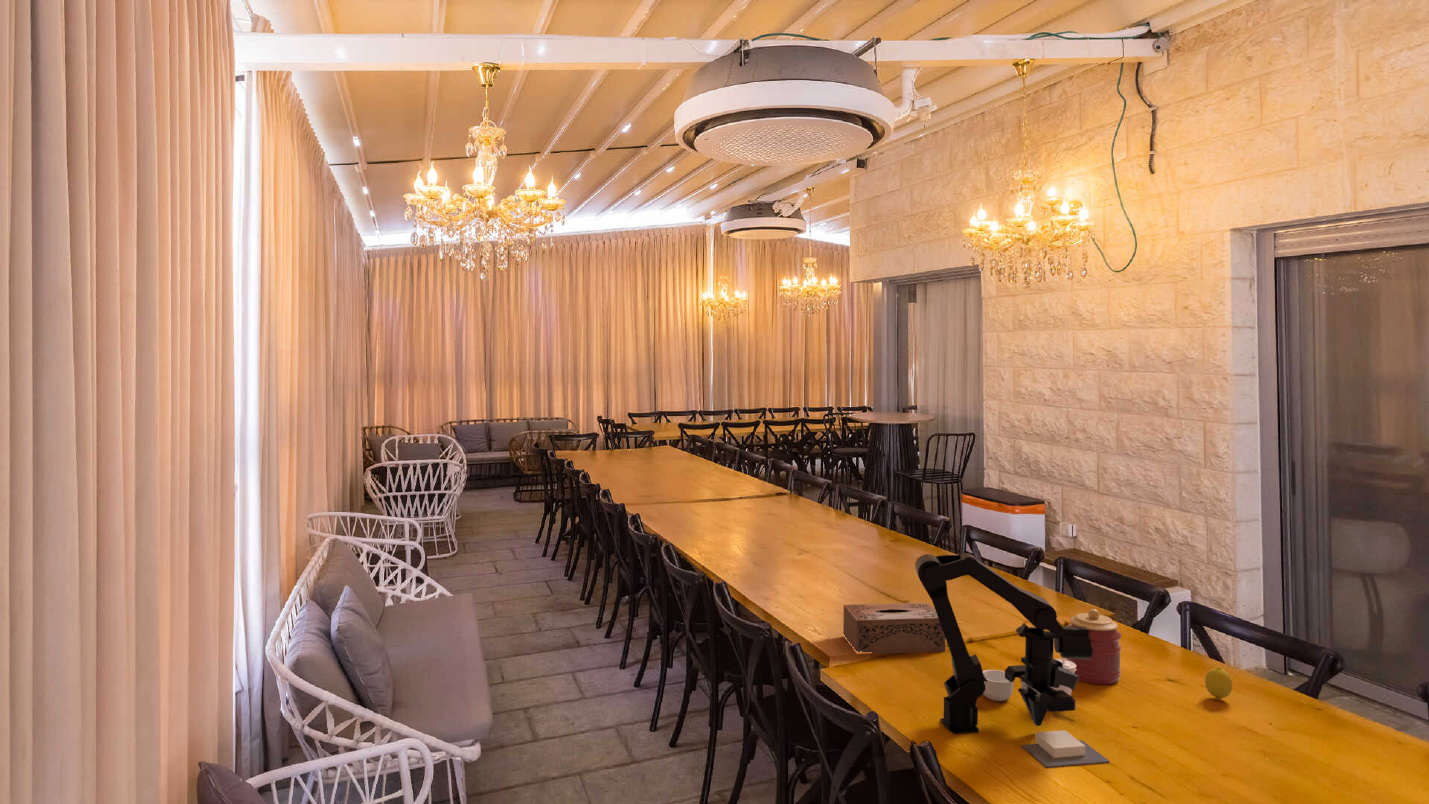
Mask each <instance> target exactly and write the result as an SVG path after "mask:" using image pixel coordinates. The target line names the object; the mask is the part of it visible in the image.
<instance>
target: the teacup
mask: <svg viewBox="0 0 1429 804" xmlns="http://www.w3.org/2000/svg"><path fill="white" fill-rule="evenodd" d="M982 671H983V673H984V675H985V677H986V679H987V682H985V681H984V683H985V691H984V693H983V696H985V697H986V698H987V699H989V700H991V701H995V702H1005V701H1006V700H1009V698H1011V696H1012V694H1013V691H1014V683H1015V680H1014V681H1013V682H1010V681H1008V680H1007V679H1006V678H1005V670H998V669H985V670H982Z"/></svg>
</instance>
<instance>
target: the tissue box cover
mask: <svg viewBox="0 0 1429 804" xmlns="http://www.w3.org/2000/svg"><path fill="white" fill-rule="evenodd" d="M842 625H843V632H842V633H843V634H844V635H845V637H846V638H847V640H848V641H849V642H850V644H852V646H853V647H854V649H855V650H856V651H858V652H860V651H862V652H872V653H874V654H873V655H879V654H880V655H882V654H883V655H884V654H886V655H887V654H911V653H913V654H914V653H917V654H918V653H942V652H943V653H944V652H946V638H945V636H944V633H943V630H942V627H941V624H940V622H939V619H938V616H937V613H936V610H935V608H934V606H932V605H931V604H930V603H928V602H898V603H897V602H895V603H893V602H892V603H862V604H858V603H857V604H843V624H842ZM875 653H876V654H875Z"/></svg>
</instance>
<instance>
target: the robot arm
mask: <svg viewBox="0 0 1429 804" xmlns="http://www.w3.org/2000/svg"><path fill="white" fill-rule="evenodd" d="M914 569H915V572H916V574H917V576H918V579H919V581H920V582H921V585H922V587H923V589H925V591H926V593H927V594H928V596H929V598H930V599H931V601H932V605H933V608H934V609H935V610H936V613H937V616H938V619H939V622H940V624H941V627H942V630H943V633H944V636H945V642H946V643H947V646H948V649H949V652H950V657H951V658H950V659H951V666H952V671H953V672H952V673H953V674H951V676H950V677H949V678H948V679H946V680H945V681H944V682H943V685H944V687H945V690H946V693H947V696H944V697H943V717H942V718H939V720H940V723H942V725H943V726H944V727H946V729H947V730H948V731H949V732H950V733H951V734H962V733H963V734H964V733H966V734H967V733H976V732H977V733H978V732H980V728H979V727H978V722H979V719H978V718H979V716H978V715H979V708H978V706H977V702H978V698H980V697H982V696H984V694H983V693H984V691H985V683H984V681H985V682H987V679H986V677H985V675H984V673H983V671H984V670H983V667H982V663H981V662H980V659H979V657H978V655H977V654H975V653H974V654H973V655H970V653H969V651H968V649H967V645H966V644H965V641H964V638H963V635H962V632H961V629H960V627H959V624H958V620H957V618H956V616H955V612H954V610H953V606H952V604H951V602H950V599H949V594H948V586H947V581H952V580H955V579H958V578H961V577H965V576H969V577H971V578H973V579H974V580H976V581H977V582H978V583H980V584H982V585H983V586H985V587H986V588H988V590H990V591H992V592H993V593H994V594H996V595H998V596H1000V598H1002V599H1003V600H1005V601H1006V602H1008V603H1009V604H1011V605H1012V606H1013V607H1014V608H1015V609H1016V610H1017V611H1018V612H1019V613H1020V614H1021V616H1023V617H1024V618H1025V619H1026V620H1027V621H1028V622H1029V623H1030V624H1031V625H1032V626H1033V627H1032V626H1028V625H1027V624H1026V623H1025V622H1022V624H1021V625H1020V626H1019V627H1017V628H1015V632H1016V633H1017V634H1018V636H1019V637H1020V638H1025V642H1024V643H1025V650H1024V651H1025V653H1024V656H1021V657H1020V662H1021V663H1023V664H1022V665H1021V664H1019V665H1018V664H1017V665H1008V666H1007V667H1006V668H1005V669H1004V672H1005V678H1006V679H1007V680H1008V681H1010V682H1013V681H1014V682H1015V680H1016V679H1015V678H1018V679H1020V680H1019V682H1020V683H1021V686H1020V688H1018V689H1017V692H1018V693H1019V694H1020V695H1021V698H1022V700H1023V702H1024V703H1025V706H1026V708H1027V710H1028V713H1029V714H1030V717H1031V720H1032V722H1033V724H1034V725H1035V726H1036V727H1041V726H1042V724H1043V722H1044V719H1045V717H1046V714H1047V712H1051V713H1056V712H1058V713H1059V712H1071V711H1076V704H1077V703H1076V699H1075V698H1074V697H1073V696H1072V695H1071V696H1070V695H1069V694H1067V693H1066V692H1064V691H1063V690H1057V691H1056V690H1054V689H1053V688H1051V687H1054V688H1059V686H1060V685H1062V686H1065V687H1069V688H1070V689H1072V691H1074V690H1075V689H1076V686H1077V683H1078V681H1079V680H1078V678H1079V676H1077V675H1076V674H1074V673H1073V672H1071V671H1070V670H1068V669H1066V668H1064V667H1063V664H1062V663H1061V662H1060V661H1058V660H1056V659H1057V658H1054V651H1055V652H1056V653H1057V654H1059V656H1060V657H1061V659H1062V658H1065V659H1066V658H1075V659H1091V657H1092V651H1093V648H1092V646H1091V640H1090V636H1089V630H1088V629H1087V628H1086V627H1084V626H1079V627H1067V626H1065V625H1064V626H1063V625H1062V624H1061V622H1059V620H1058V616H1057V615H1058V614H1057V611H1056V610H1055V608H1054V607H1053V606H1052V605H1051V604H1050V602H1048V600H1046V598H1045V597H1042V596H1040V595H1038V594H1036V593H1033V592H1031V591H1028V590H1026V589H1023V588H1021V587H1018V586H1017V585H1015V584H1014V583H1013V582H1010V581H1009V580H1008V579H1006V578H1005V577H1003V576H1002V575H1000V574H999V573H997V572H996V571H995V570H993V569H992V568H990V567H989V566H987V565H986V564H985V563H983V562H981V561H980V560H979V559H977V558H976V557H975V556H974V555H973V554H971V553H970V552H969V553H968V552H966V553H960V554H942V555H941V554H940V555H933V554H929V553H927V554H926V553H925V554H922V555H920V556H919V557H918V558H917V559H916V561H915V564H914Z"/></svg>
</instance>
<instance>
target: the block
mask: <svg viewBox="0 0 1429 804" xmlns="http://www.w3.org/2000/svg"><path fill="white" fill-rule="evenodd" d="M1034 742H1035V744H1038V745H1040V746H1041V747H1042V748H1043V749H1044V750H1045V751H1047V752H1048V753H1049V754H1050V755H1051V756H1052V757H1054V758H1059V757H1072V756H1084V755H1085V745H1084V744H1082V743H1081V742H1080V741H1078V738H1076V737H1074V736H1073V735H1072V734H1070V732H1068V731H1067V730H1064V729H1063V730H1051V731H1039V732H1034Z"/></svg>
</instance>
